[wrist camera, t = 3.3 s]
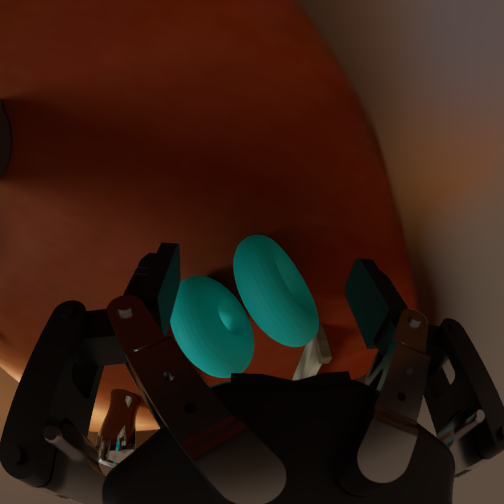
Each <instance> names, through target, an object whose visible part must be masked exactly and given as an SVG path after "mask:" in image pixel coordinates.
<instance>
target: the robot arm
mask: <svg viewBox="0 0 504 504" xmlns="http://www.w3.org/2000/svg"><path fill="white" fill-rule="evenodd" d="M10 151H11V133H10V127H9V122H8V119H7V116H6V115H5V113H4V111H3V109H2V99H0V177H1V176H2V174H3V173H4V171H5V169H6V167H7V165H8V161H9V158H10ZM179 285H180V251H179V244H174V243H161V245H160V247H159V249H158V251H157V253H149V254H147V255H146V256H145V257H144V258H142V259H141V261H140V263H139V265H138V267H137V269H136V270H135V272H134V274H133V276H132V278H131V280H130V282H129V284H128V286H127V288H126V290H125V292H124V295H123V296H119V297H117V298H115V299H113V300H112V301H111V302H110V303H109V305H108V307H107V309H102V310H93V311H86V309H85V306H84V305H83V304H82V303H81V302H79V301H74V300H71V301H66V302H63V303H61V304H60V305H58V306H57V307H56V308H55V310H54V311H53V313H52V315H51V317H50V318H49V320H48V322H47V324H46V326H45V328H44V330H43V332H42V334H41V336H40V338H39V340H38V342H37V344H36V346H35V348H34V350H33V352H32V354H31V357H30V359H29V361H28V363H27V366H26V368H25V370H24V373H23V375H22V378H21V380H20V383H19V385H18V388H17V390H16V393H15V396H14V398H13V401H12V404H11V407H10V410H9V413H8V416H7V420H6V423H5V426H4V430H3V434H2V437H1V441H0V462H1V464H2V466H3V468H4V469H5V470H6V472H7V473H9V474H10V475H11V476H13V477H14V478H16V479H18V480H20V481H23V482H25V483H26V484H27V485H29V486H31V487H33V488H36V489H38V490H40V491H43V492H45V493H48V494H51V495H56V496H59V497H61V498H67V499H68V498H70V499H73V500H75V501H78V502H81V503H84V504H452V490H453V482H454V477H459V476H461V475H463V474H465V473H467V472H469V471H471V470H472V469H474V468H476V467H478V466H479V465H481V464H483V463H484V462H486V461H488V460H489V459H491V458H492V457H494V456H496V455H497V454H499V453H500V452H502V451H503V450H504V406H503V404H502V401H501V399H500V397H499V394H498V392H497V390H496V388H495V386H494V384H493V381H492V380H491V377H490V376H489V373H488V371H487V370H486V368H485V366H484V364H483V362H482V360H481V358H480V356H479V354H478V352H477V351H476V349H475V347H474V345H473V343H472V342H471V340H470V338H469V337H468V335H467V333H466V332H465V330H464V328H463V327H462V326H461V324H460V323H458V322H457V321H455V320H453V319H450V318H446V319H444V320H443V322H442V323H441V325H440V326H435V325H430V324H428V321H427V319H426V318H425V316H424V315H422V314H421V313H420V312H418V311H416V310H414V309H408V307H407V306H406V304H405V302H404V301H403V299H402V298H401V296H400V294H399V293H398V291H396V288H395V287H394V285H393V284H392V282H391V281H390V279H389V278H388V276H386V275H385V274H384V273H383V272H382V271H380V270H379V269H378V267H377V266H376V264H375V263H374V261H373V260H371V259H359V258H358V259H356V260H355V262H354V264H353V267H352V270H351V273H350V275H349V278H348V281H347V283H346V287H345V296H346V299H347V301H348V303H349V306H350V308H351V310H352V313H353V315H354V317H355V320H356V322H357V325H358V327H359V329H360V332H361V334H362V337H363V339H364V342H365V344H366V347H367V349H374V348H378V352H377V354H376V355H375V358H374V360H373V363H372V365H371V368H370V370H369V372H368V375H367V377H366V379H365V382H364V383H362V382H359V381H355V380H351V378H350V375H349V371H345V372H332V373H321V374H317V375H314V376H310V377H307V378H303V379H299V380H288V379H283V378H278V377H273V376H269V375H264V374H245V373H231V380H230V382H224V383H221V384H217V385H214V386H212V387H210V388H209V386H208V385H207V384H206V383H205V381H204V380H203V379H202V377H201V376H200V375H199V374H198V372H197V371H196V370H195V368H194V367H193V366H192V364H191V363H190V362H189V360H188V359H187V358H186V356H185V355H184V353H183V352H182V351H181V349H180V348H179V346H178V345H177V344H176V342H175V341H174V340H173V338H171V337H170V336H169V337H167V338H166V335H167V331H168V327H169V323H170V319H171V315H172V312H173V308H174V304H175V300H176V297H177V293H178V289H179ZM448 359H449V360H450V362H451V364H452V367H453V369H454V371H455V379H454V381H453V383H452V384H451V385H450V384H449V381H448V379H447V377H446V374H445V372H444V370H443V368H442V366H443V365H444V364H445V363H446V361H447V360H448ZM123 363H125V365H126V367H127V369H128V371H129V373H130V375H131V377H132V379H133V381H134V383H135V384H136V386H137V388H138V390H139V392H140V394H141V395H142V397H143V399H144V401H145V403H146V405H147V407H148V409H149V410H150V412H151V414H152V416H153V417H154V419H155V421H156V422H157V424H158V425H159V427H160V429H159V430H158V431H157V432H156V433H155V434H154V435H152V436H151V437H150V438H149V439H148V440H147V441H145V442H144V443H143V444H142V445H141V446H140V447H138V448H137V449H136V450H135V451H133V452H132V453H131V454H130V455H128V456H127V457H126V458H125V459H123V460H122V461H121V462H120V463H118V464H117V465H116V466H115V467H114V468H112V470H111V471H110V472H109V473H108V475H107V476H105V475H104V474H103V472H102V471H101V469H100V466H99V458H98V452H97V449H96V447H95V446H94V444H93V443H92V442H91V441H90V440H89V439H88V438H87V436H88V430H89V425H90V421H91V416H92V412H93V407H94V403H95V399H96V395H97V391H98V387H99V383H100V379H101V376H102V372H103V369H104V365H114V364H123ZM423 395H424V398H425V400H426V403H427V406H428V409H429V412H430V415H431V418H432V421H433V424H434V427H435V431H436V434H437V437H435V436H434V435H433V434H431V433H430V432H429V431H427V430H426V429H425V428H424V427H422V426H421V425H420V424H418V423H417V419H418V415H419V412H420V408H421V404H422V399H423Z"/></svg>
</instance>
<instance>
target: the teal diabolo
mask: <svg viewBox="0 0 504 504" xmlns="http://www.w3.org/2000/svg"><path fill="white" fill-rule="evenodd" d="M233 270H234V277H235V281H236V285H237V288H238V291H239V294H240V296H241V299H242V301H243V303H244V305H245V307H246V309H247V310H248V312H249V314H250V315H251V317H252V318H253V319H254V321H255V322H256V323H257V325H258V326H259V327H260V328H261V329H262V330H263V331H264V332H265V333H266V334H267V335H268V336H270V337H271V338H272V339H274V340H275V341H277V342H279V343H281V344H283V345H286V346H291V347H300V346H304V345H306V344H308V343H310V342H311V341H312V340H313V339H314V338H315V336H316V334H317V332H318V328H319V317H318V312H317V309H316V306H315V303H314V300H313V298H312V295H311V293H310V291H309V289H308V287H307V285H306V283H305V281H304V279H303V277H302V276H301V274H300V272H299V271H298V269H297V268H296V266H295V265H294V263H293V262H292V260H291V259H290V258H289V256H288V255H287V254H286V253H285V251H284V250H283V249H282V248H281V247H280V246H279V245H278V244H277V243H276V242H275V241H274V240H272V239H271V238H269V237H267V236H264V235H251V236H248V237H247V238H245V239H244V240H243V241H242V242H241V243H240V244H239V245H238V247H237V249H236V252H235V255H234V262H233ZM170 324H171V328H172V331H173V334H174V336H175V339H176V341H177V343H178V345H179V346H180V348H181V350H182V351H183V352H184V354H185V355H186V356H187V358H188V359H189V360H190V361H191V362H192V363H193V364H194V365H195V366H197V367H198V368H199V369H201V370H202V371H204V372H205V373H207V374H209V375H212V376H215V377H220V378H229V377H231V373H242V372H243V371H244V370H245V369H246V368H247V367H248V365H249V364H250V362H251V360H252V357H253V352H254V336H253V331H252V327H251V324H250V321H249V319H248V316H247V314H246V312H245V310H244V309H243V307H242V305H241V304H240V302H239V301H238V300H237V298H236V297H235V296H234V295H233V294H232V293H231V292H230V291H229V290H228V289H227V288H226V287H225V286H224V285H222V284H221V283H219V282H218V281H216V280H214V279H211V278H209V277H205V276H192V277H188V278H186V279H184V280H183V281H181V282H180V285H179V289H178V293H177V297H176V300H175V304H174V308H173V312H172V315H171V319H170Z"/></svg>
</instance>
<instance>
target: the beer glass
mask: <svg viewBox="0 0 504 504" xmlns="http://www.w3.org/2000/svg"><path fill="white" fill-rule="evenodd" d="M140 404H141V400H140V398H139V397H137V396H136V395H134V394H133V393H130V392H128V391H125V390H120V389H115V390H112V391H111V396H110V406H109V410H108V412H107V415H106V417H105V419H104V421H103V423H102V425H101V428H100V430H99V433H98V437H97V441H96V449H97V452H98V458H99V463H100V464H103V465H105V466H108V467H111V468H114V467H115V466H116V465H117V464H118V463H120V462H121V461H122V460H123V459H125V458H126V457H127V456H128V455H130V454H131V453H132V452H133V451H135V446H136V445H135V444H136V430H135V421H136V415H137V411H138V409H139V407H140Z"/></svg>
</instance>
